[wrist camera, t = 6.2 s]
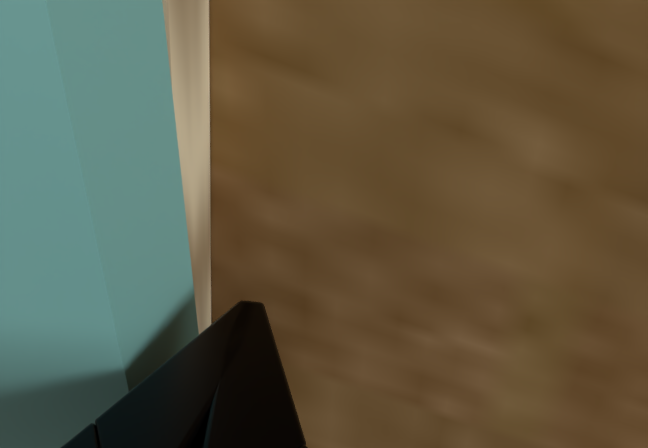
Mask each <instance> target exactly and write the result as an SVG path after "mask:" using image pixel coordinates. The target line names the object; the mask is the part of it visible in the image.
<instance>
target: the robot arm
mask: <svg viewBox="0 0 648 448" xmlns="http://www.w3.org/2000/svg"><path fill="white" fill-rule="evenodd" d="M60 448H307V447H306V441H305V438H304V435H303V432H302V428H301V425H300V422H299V418H298V415H297V412H296V409H295V405H294V402H293V399H292V395H291V392H290V389H289V386H288V382H287V379H286V376H285V372H284V369H283V366H282V363H281V359H280V356H279V353H278V349H277V346H276V343H275V340H274V336H273V333H272V330H271V326H270V323H269V320H268V317H267V313H266V310H265V307H264V305H263V304H262V303H260V302H251V301H240V302H238V303H237V304H236V305H234V306H233V307H232V308H231V309H230V310H228V311H227V312H226V313H225V314H223V315H222V316H221V317H220V318H219V319H217V320H216V321H215V322H214V323H212V324H211V325H210V326H209V327H208V328H206V329H205V330H204V331H203V332H201V333H200V334H199V335H198V336H197V337H195V338H194V339H193V340H192V341H191V342H189V343H188V344H187V345H186V346H184V347H183V348H182V349H181V350H180V351H178V352H177V353H176V354H175V355H173V356H172V357H171V358H170V359H169V360H167V361H166V362H165V363H164V364H162V365H161V366H160V367H159V368H158V369H156V370H155V371H154V372H153V373H151V374H150V375H149V376H148V377H147V378H145V379H144V380H143V381H142V382H140V383H139V384H138V385H137V386H136V387H134V388H133V389H132V390H131V391H129V392H128V393H127V394H126V395H125V396H123V397H122V398H121V399H120V400H118V401H117V402H116V403H115V404H114V405H112V406H111V407H110V408H109V409H107V410H106V411H105V412H104V413H103V414H101V415H100V416H99V417H98V418H97V419H96V420H95V424H94V423H90V424H89V425H88V426H86V427H85V428H84V429H83V430H82V431H80V432H79V433H78V434H77V435H75V436H74V437H73V438H72V439H71V440H69V441H68V442H67V443H66V444H64V445H63V446H62V447H60Z"/></svg>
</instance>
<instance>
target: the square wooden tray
mask: <svg viewBox="0 0 648 448" xmlns="http://www.w3.org/2000/svg"><path fill="white" fill-rule="evenodd" d="M162 3H163V12H164V21H165V31H166V40H167V49H168V58H169V67H170V76H171V85H172V94H173V103H174V113H175V122H176V131H177V140H178V149H179V158H180V167H181V176H182V185H183V195H184V204H185V213H186V222H187V231H188V240H189V249H190V258H191V267H192V276H193V286H194V295H195V304H196V313H197V322H198V331H199V334H200V333H201V332H203V331H204V330H205V329H206V328H208V327H209V326H210V325H211V220H210V76H209V0H162Z"/></svg>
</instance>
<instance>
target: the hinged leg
mask: <svg viewBox="0 0 648 448" xmlns="http://www.w3.org/2000/svg"><path fill="white" fill-rule="evenodd" d="M198 335H199V331H198V322H197V313H196V304H195V295H194V286H193V276H192V267H191V258H190V249H189V240H188V231H187V222H186V213H185V204H184V195H183V185H182V176H181V167H180V158H179V149H178V140H177V131H176V122H175V113H174V103H173V94H172V85H171V76H170V67H169V58H168V49H167V40H166V31H165V21H164V12H163V3H162V0H0V448H60V447H62V446H63V445H64V444H66V443H67V442H68V441H69V440H71V439H72V438H73V437H74V436H75V435H77V434H78V433H79V432H80V431H82V430H83V429H84V428H85V427H86V426H88V425H89V424H90V423H94V424H95V420H96V419H97V418H98V417H99V416H100V415H101V414H103V413H104V412H105V411H106V410H107V409H109V408H110V407H111V406H112V405H114V404H115V403H116V402H117V401H118V400H120V399H121V398H122V397H123V396H125V395H126V394H127V393H128V392H129V391H131V390H132V389H133V388H134V387H136V386H137V385H138V384H139V383H140V382H142V381H143V380H144V379H145V378H147V377H148V376H149V375H150V374H151V373H153V372H154V371H155V370H156V369H158V368H159V367H160V366H161V365H162V364H164V363H165V362H166V361H167V360H169V359H170V358H171V357H172V356H173V355H175V354H176V353H177V352H178V351H180V350H181V349H182V348H183V347H184V346H186V345H187V344H188V343H189V342H191V341H192V340H193V339H194V338H195V337H197V336H198Z"/></svg>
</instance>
